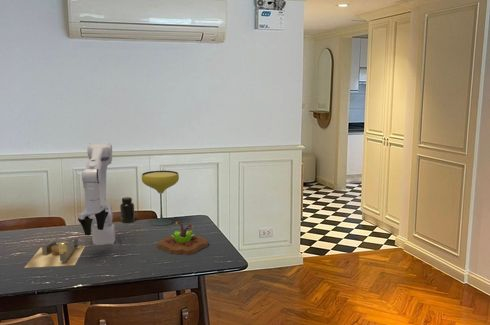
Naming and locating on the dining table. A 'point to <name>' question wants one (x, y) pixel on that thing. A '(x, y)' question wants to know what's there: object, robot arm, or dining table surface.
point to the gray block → (48, 248)
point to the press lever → (67, 248)
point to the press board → (54, 259)
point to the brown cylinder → (55, 250)
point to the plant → (182, 242)
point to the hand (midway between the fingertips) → (94, 232)
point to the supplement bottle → (127, 210)
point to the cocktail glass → (160, 187)
